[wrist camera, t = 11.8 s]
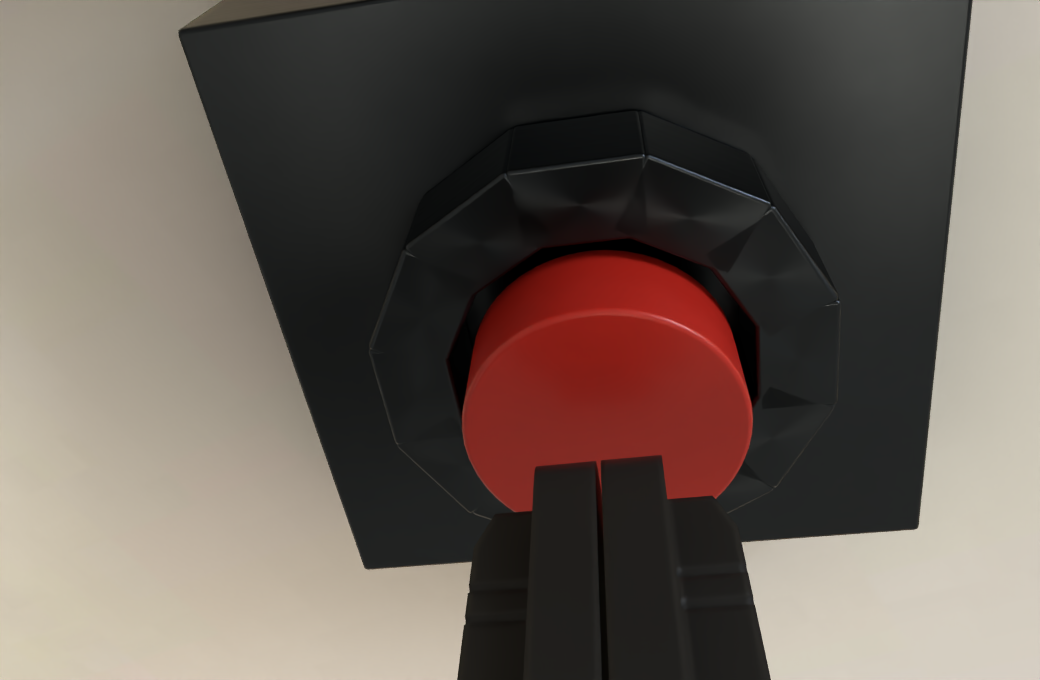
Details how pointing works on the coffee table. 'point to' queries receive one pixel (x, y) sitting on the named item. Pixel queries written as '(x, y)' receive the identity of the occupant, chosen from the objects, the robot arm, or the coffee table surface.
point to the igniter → (597, 221)
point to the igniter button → (605, 377)
